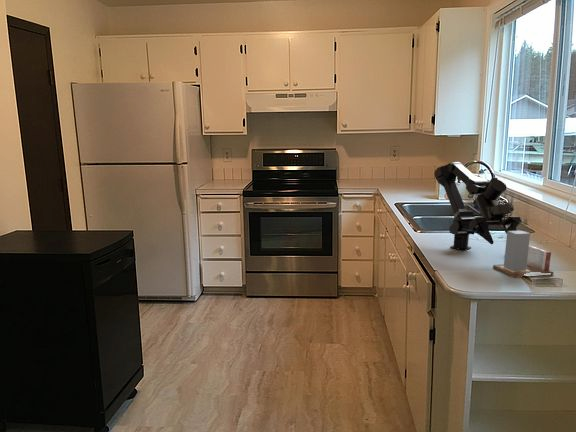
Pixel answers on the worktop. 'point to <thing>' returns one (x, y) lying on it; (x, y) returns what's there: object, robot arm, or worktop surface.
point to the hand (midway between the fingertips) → (503, 243)
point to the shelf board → (530, 263)
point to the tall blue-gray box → (516, 250)
